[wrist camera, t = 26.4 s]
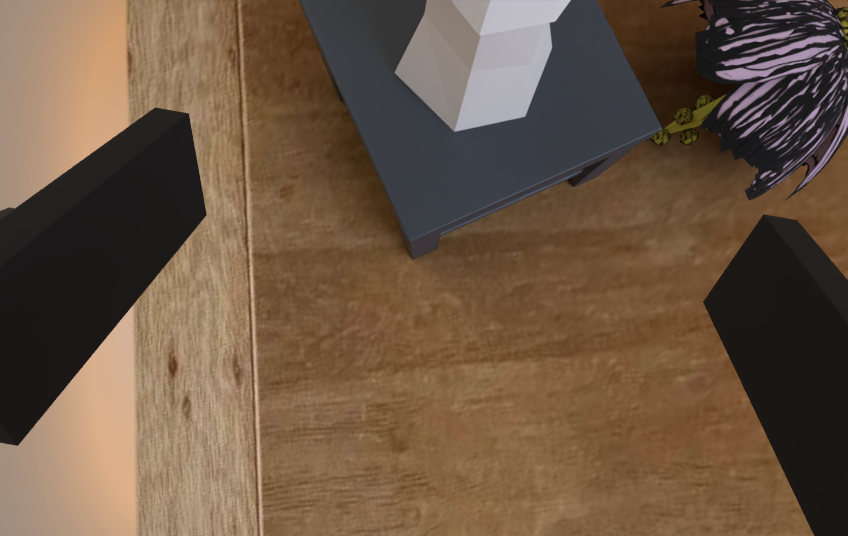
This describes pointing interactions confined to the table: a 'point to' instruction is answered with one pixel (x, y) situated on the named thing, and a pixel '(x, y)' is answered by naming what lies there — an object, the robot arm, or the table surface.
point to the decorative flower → (771, 85)
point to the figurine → (479, 58)
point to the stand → (485, 145)
